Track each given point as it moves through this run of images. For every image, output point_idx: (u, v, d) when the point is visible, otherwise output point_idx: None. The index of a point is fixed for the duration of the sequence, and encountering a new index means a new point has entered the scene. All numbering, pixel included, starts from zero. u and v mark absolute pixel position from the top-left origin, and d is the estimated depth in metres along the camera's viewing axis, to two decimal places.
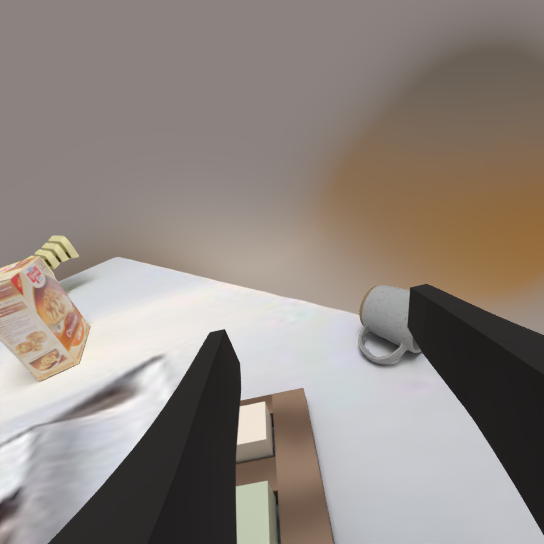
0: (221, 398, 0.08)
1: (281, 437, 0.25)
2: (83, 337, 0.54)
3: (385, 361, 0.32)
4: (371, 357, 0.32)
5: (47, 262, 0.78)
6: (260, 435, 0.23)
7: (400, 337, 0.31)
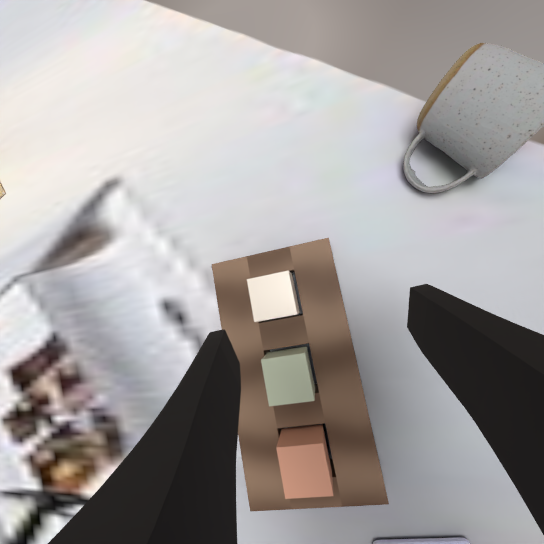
0: (221, 398, 0.08)
1: (307, 297, 0.23)
2: None
3: (435, 191, 0.24)
4: (418, 186, 0.24)
5: None
6: (289, 310, 0.21)
7: (477, 162, 0.21)
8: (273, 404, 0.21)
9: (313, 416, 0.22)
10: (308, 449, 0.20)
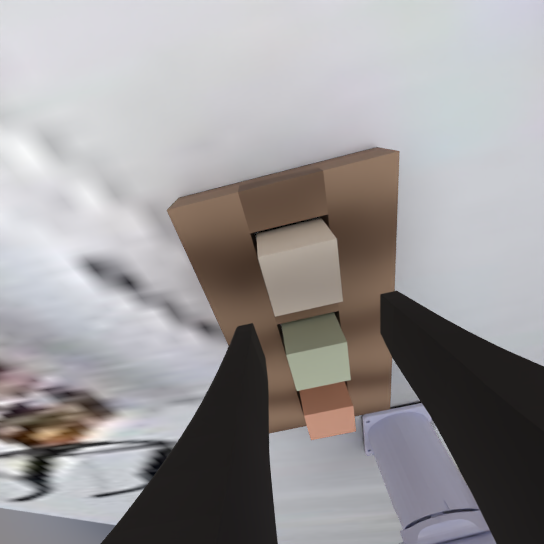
0: (255, 391, 0.08)
1: (345, 255, 0.15)
2: None
3: None
4: None
5: None
6: (331, 297, 0.13)
7: None
8: (302, 389, 0.17)
9: None
10: (337, 411, 0.19)
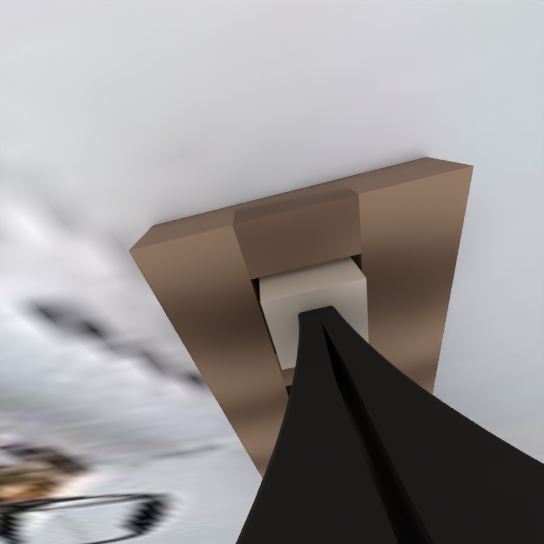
0: None
1: (380, 305, 0.11)
2: None
3: None
4: None
5: None
6: None
7: None
8: None
9: None
10: None
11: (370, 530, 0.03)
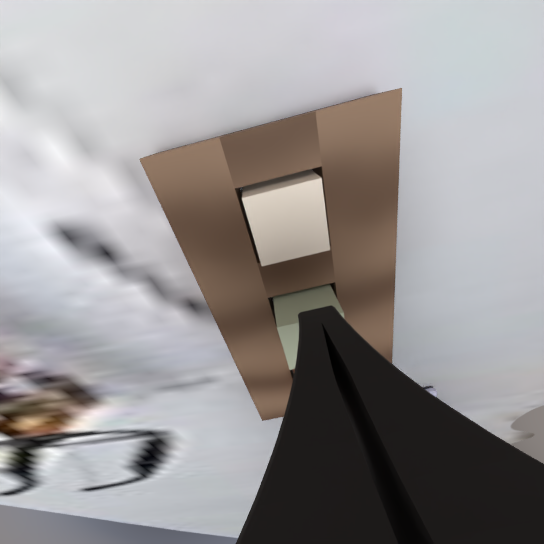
0: None
1: (341, 216, 0.14)
2: None
3: None
4: None
5: None
6: (318, 245, 0.13)
7: None
8: None
9: None
10: None
11: (370, 530, 0.03)
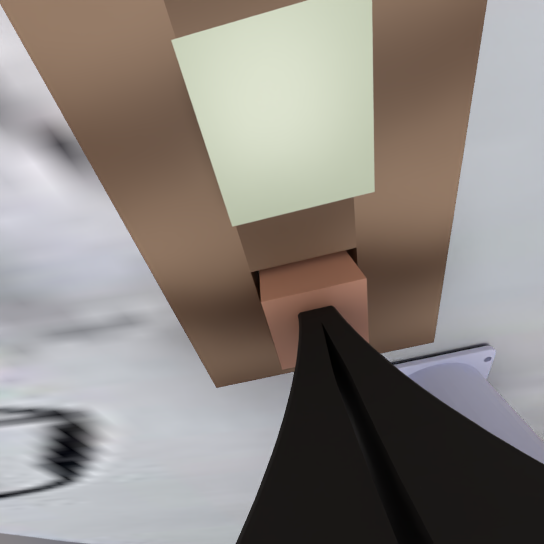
0: None
1: None
2: None
3: None
4: None
5: None
6: None
7: None
8: (245, 219, 0.07)
9: (332, 237, 0.10)
10: (332, 294, 0.09)
11: (370, 530, 0.03)
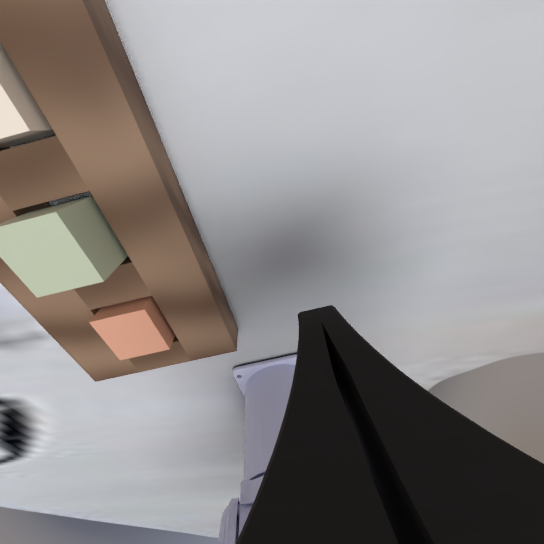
0: None
1: (48, 90, 0.11)
2: None
3: None
4: None
5: None
6: (10, 122, 0.11)
7: None
8: (42, 294, 0.13)
9: (134, 290, 0.16)
10: (129, 317, 0.16)
11: (370, 530, 0.03)
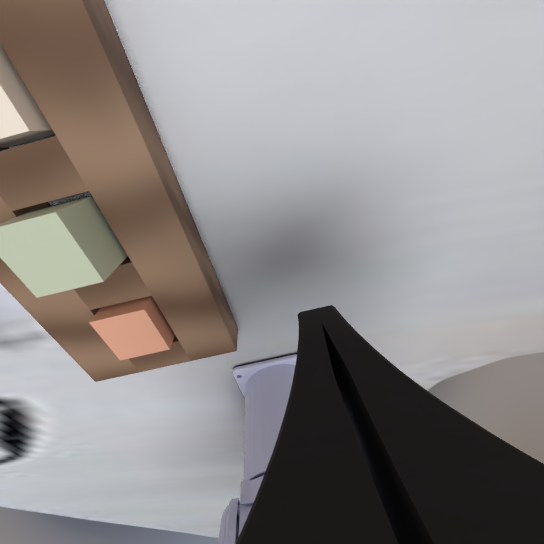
0: None
1: (47, 91, 0.11)
2: None
3: None
4: None
5: None
6: (9, 122, 0.11)
7: None
8: (42, 294, 0.13)
9: (133, 290, 0.16)
10: (128, 317, 0.16)
11: (370, 530, 0.03)
